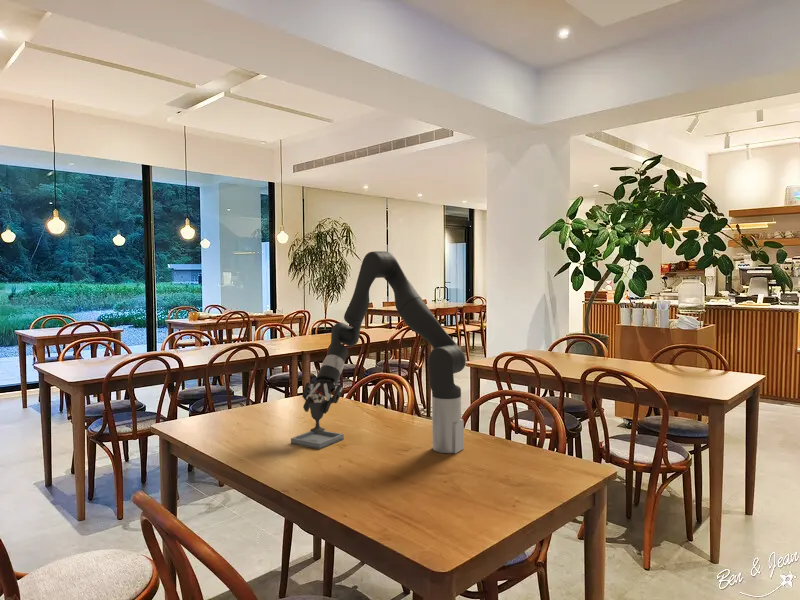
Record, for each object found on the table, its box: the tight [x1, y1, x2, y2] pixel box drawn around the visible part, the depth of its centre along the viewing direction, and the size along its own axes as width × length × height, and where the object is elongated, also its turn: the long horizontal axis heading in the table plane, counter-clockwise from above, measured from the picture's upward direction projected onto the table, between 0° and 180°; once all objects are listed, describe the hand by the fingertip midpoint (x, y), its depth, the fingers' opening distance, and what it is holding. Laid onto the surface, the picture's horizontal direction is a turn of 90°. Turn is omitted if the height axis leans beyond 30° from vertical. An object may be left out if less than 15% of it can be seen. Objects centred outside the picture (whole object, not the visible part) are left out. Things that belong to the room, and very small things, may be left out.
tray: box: [290, 430, 345, 450], centre depth 185 cm, size 13×13×2 cm
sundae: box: [307, 386, 327, 432], centre depth 184 cm, size 7×7×15 cm
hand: (314, 411), depth 183 cm, fingers closed on sundae, 6 cm apart
